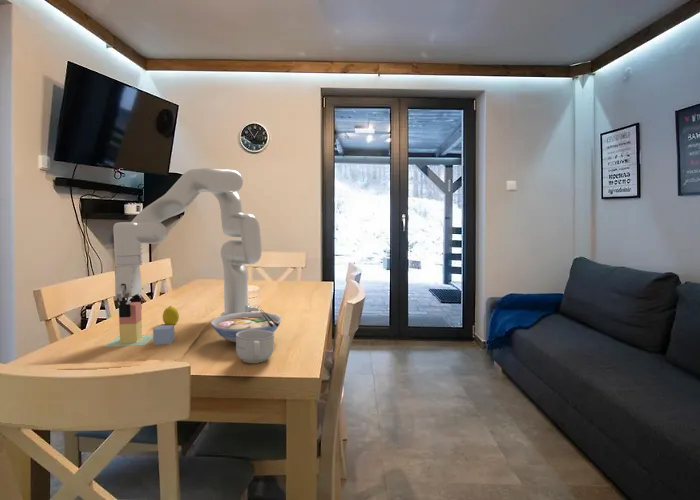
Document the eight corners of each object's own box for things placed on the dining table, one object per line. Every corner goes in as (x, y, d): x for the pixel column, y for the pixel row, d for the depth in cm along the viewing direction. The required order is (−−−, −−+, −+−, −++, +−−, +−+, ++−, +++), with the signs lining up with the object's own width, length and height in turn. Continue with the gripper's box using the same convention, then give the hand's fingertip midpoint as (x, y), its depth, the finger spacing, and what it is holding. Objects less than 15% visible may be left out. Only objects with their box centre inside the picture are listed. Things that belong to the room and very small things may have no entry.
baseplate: (156, 337, 143) (156, 334, 143) (144, 348, 131) (144, 345, 131) (119, 339, 141) (118, 335, 141) (103, 350, 129) (103, 346, 129)
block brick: (141, 319, 138) (141, 302, 138) (136, 323, 133) (135, 305, 133) (125, 320, 138) (124, 302, 137) (119, 324, 133) (118, 305, 132)
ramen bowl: (209, 334, 147) (209, 311, 146) (274, 328, 155) (274, 306, 154) (213, 357, 124) (212, 330, 123) (289, 348, 132) (289, 323, 131)
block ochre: (142, 337, 139) (141, 320, 138) (136, 342, 134) (136, 323, 133) (126, 338, 138) (125, 320, 138) (120, 342, 133) (119, 324, 133)
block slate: (174, 342, 138) (174, 325, 137) (170, 347, 133) (169, 329, 132) (158, 343, 137) (157, 325, 136) (153, 348, 132) (153, 329, 131)
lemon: (173, 329, 154) (172, 308, 153) (159, 328, 155) (159, 307, 154) (182, 325, 159) (181, 304, 158) (169, 324, 160) (168, 304, 159)
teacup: (239, 354, 126) (239, 328, 126) (276, 353, 127) (275, 327, 127) (230, 371, 112) (230, 342, 112) (271, 370, 113) (271, 341, 113)
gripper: (126, 258, 142) (128, 307, 143) (104, 264, 125) (107, 320, 126) (149, 257, 143) (151, 307, 145) (130, 263, 126) (133, 319, 127)
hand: (130, 313), depth 135 cm, fingers open, 9 cm apart
